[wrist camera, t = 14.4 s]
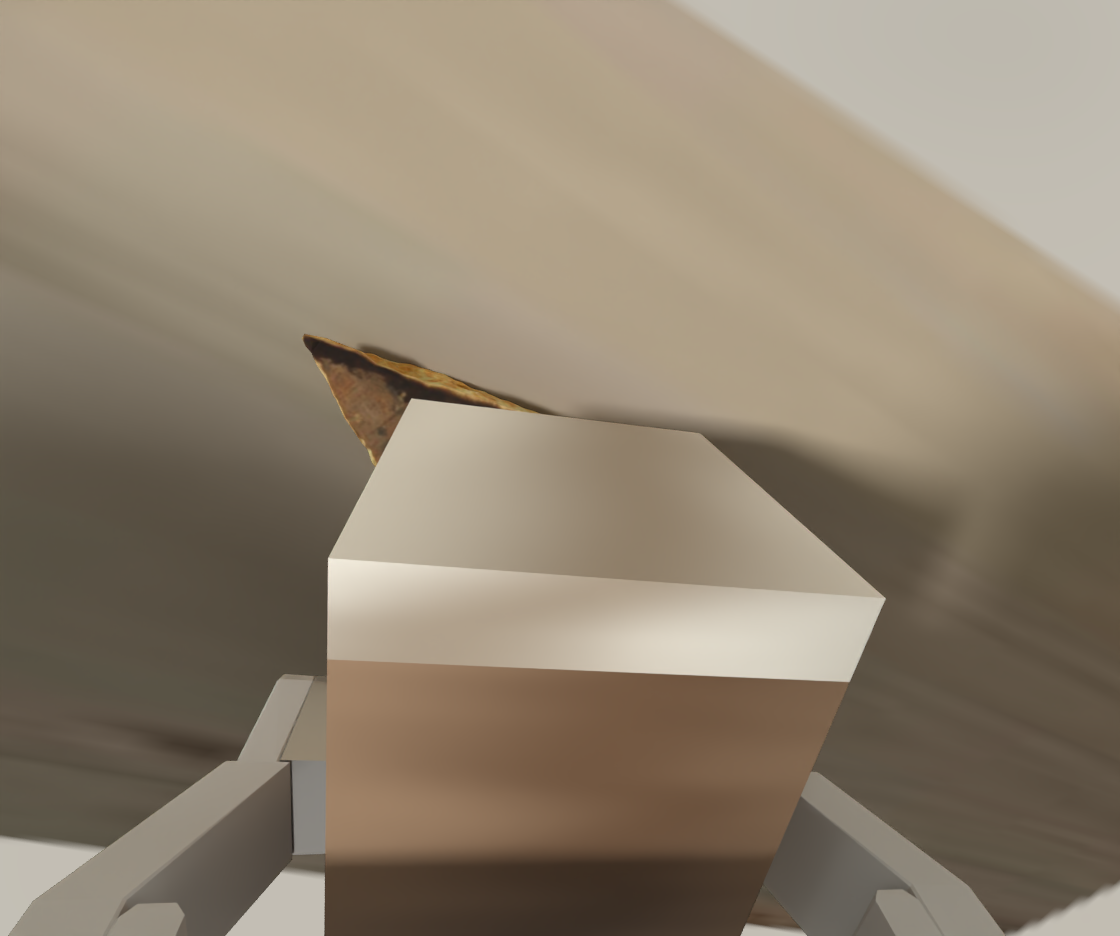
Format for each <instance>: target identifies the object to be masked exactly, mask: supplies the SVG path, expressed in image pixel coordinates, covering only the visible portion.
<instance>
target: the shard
mask: <svg viewBox="0 0 1120 936" xmlns="http://www.w3.org/2000/svg"><path fill="white" fill-rule="evenodd" d="M302 339H303V341H304V343H305V346H306V347H307V348H308V349H309V350H310V351H311V353H312V355H313V357H314V360H315V362H316V364H317V366H318V368H319V370H320V371H321V372H322V374H323V375H324V377H325V378H326V380H327V382H328V384H329V386H330V389H331V391H332V394H333V396H334V397H335V398H336V401H337V403H338V405H339V407H340V409H341V412H342V414H343V416H344V418H345V419H346V420H347V422H348V423H349V425H350V427H351V428H352V429H353V431H354V432H355V434H356V435H357V437H358V438H359V440H360V441H361V442H362V444H363V445H364V446H365V447H366V448H367V450H368V452H369V455H370V458H371V461H372V463H373V465H374V466H375V467H376V465H377V463H378V462H379V460H380V458H381V456H382V454H383V452H384V450H385V448H386V446H387V444H388V442H389V440H390V439H391V437H392V435H393V433H394V431H395V429H396V427H397V425H398V423H399V421H400V419H401V417H402V416H403V414H404V412H405V410H406V408H407V406H408V404H409V402H410V400H411V398H412V399H420V400H428V401H437V402H445V403H453V404H462V405H470V406H478V407H487V408H495V409H503V410H511V411H520V412H528V413H536V414H540V413H537V412H535V411H532V410H528V409H525V408H522V407H520V406H519V405H517V404H513V403H511V402H510V401H506V400H501V399H499V398H497V397H495V396H492V395H490V394H488V393H486V392H484V391H480V390H476V389H473V388H470V387H468V386H467V385H465V384H464V383H462V382H460V381H456V380H454V379H452V378H450V377H448V376H447V375H445V374H442V373H437V372H433V371H431V370H428V369H425V368H420V367H418V366H415V365H412V364H405V363H396V362H393V361H389V360H386V359H384V358H381V357H379V356H377V355H375V354H372V353H363V352H362V351H360V350H357V349H354V348H351V347H348V346H345V345H343V344H340V343H337V342H335V341H332V340H329V339H327V338H322V337H317V336H312V335H307V334H304V336H303V338H302Z"/></svg>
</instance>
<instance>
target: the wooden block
mask: <svg viewBox="0 0 1120 936" xmlns="http://www.w3.org/2000/svg"><path fill="white" fill-rule="evenodd" d="M885 599H886V598H885V597H884V596H882V595H881V594H880V593H879V592H878V591H877V590H876V589H875V588H873V587H872V586H871V585H870V584H869V583H868V582H867V581H866V580H864V579H863V578H862V577H861V576H860V575H859V574H858V573H857V572H855V571H854V570H853V569H852V568H851V567H850V566H849V565H848V564H846V563H845V562H844V561H843V560H842V559H841V558H840V557H839V556H837V555H836V554H835V553H834V552H833V551H832V550H831V549H830V548H828V547H827V546H826V545H825V544H824V543H823V542H822V541H821V540H819V539H818V538H817V537H816V536H815V535H814V534H813V533H812V532H810V531H809V530H808V529H807V528H806V527H805V526H804V525H803V524H801V523H800V522H799V521H798V520H797V519H796V518H795V517H794V516H792V515H791V514H790V513H789V512H788V511H787V510H786V509H785V508H783V507H782V506H781V505H780V504H779V503H778V502H777V501H776V500H774V499H773V498H772V497H771V496H770V495H769V494H768V493H767V492H765V491H764V490H763V489H762V488H761V487H760V486H759V485H758V484H757V483H755V482H754V481H753V480H752V479H751V478H750V477H749V476H748V475H746V474H745V473H744V472H743V471H742V470H741V469H740V468H739V467H737V466H736V465H735V464H734V463H733V462H732V461H731V460H730V459H728V458H727V457H726V456H725V455H724V454H723V453H722V452H721V451H719V450H718V449H717V448H716V447H715V446H714V445H713V444H712V443H710V442H709V441H708V440H707V439H706V438H705V437H704V436H703V435H701V434H700V433H694V432H686V431H678V430H669V429H661V428H653V427H644V426H636V425H628V424H620V423H611V422H603V421H595V420H586V419H578V418H570V417H561V416H553V415H545V414H536V413H528V412H520V411H511V410H503V409H495V408H487V407H478V406H470V405H462V404H453V403H445V402H437V401H428V400H420V399H412V398H411V400H410V402H409V404H408V406H407V408H406V410H405V412H404V414H403V416H402V417H401V419H400V421H399V423H398V425H397V427H396V429H395V431H394V433H393V435H392V437H391V439H390V440H389V442H388V444H387V446H386V448H385V450H384V452H383V454H382V456H381V458H380V460H379V462H378V463H377V465H376V467H375V469H374V471H373V473H372V475H371V477H370V479H369V481H368V483H367V485H366V486H365V488H364V490H363V492H362V494H361V496H360V498H359V500H358V502H357V504H356V506H355V508H354V509H353V511H352V513H351V515H350V517H349V519H348V521H347V523H346V525H345V527H344V529H343V531H342V533H341V534H340V536H339V538H338V540H337V542H336V544H335V546H334V548H333V550H332V552H331V554H330V556H329V557H328V621H327V726H326V831H325V935H324V936H740V935H741V933H742V931H743V928H744V926H745V924H746V922H747V919H748V917H749V915H750V912H751V910H752V908H753V905H754V903H755V901H756V898H757V896H758V894H759V891H760V889H761V887H762V884H763V882H764V880H765V877H766V875H767V873H768V870H769V868H770V866H771V863H772V861H773V859H774V857H775V854H776V852H777V850H778V847H779V845H780V843H781V840H782V838H783V836H784V833H785V831H786V829H787V826H788V824H789V822H790V819H791V817H792V815H793V812H794V810H795V808H796V805H797V803H798V801H799V799H800V796H801V794H802V792H803V789H804V787H805V785H806V782H807V780H808V778H809V775H810V773H811V771H812V768H813V766H814V764H815V761H816V759H817V757H818V754H819V752H820V750H821V747H822V745H823V743H824V740H825V738H826V736H827V734H828V731H829V729H830V727H831V724H832V722H833V720H834V717H835V715H836V713H837V710H838V708H839V706H840V703H841V701H842V699H843V696H844V694H845V692H846V689H847V687H848V685H849V682H850V680H851V678H852V675H853V673H854V671H855V669H856V666H857V664H858V662H859V659H860V657H861V655H862V652H863V650H864V648H865V645H866V643H867V641H868V638H869V636H870V634H871V631H872V629H873V627H874V624H875V622H876V620H877V617H878V615H879V613H880V611H881V608H882V606H883V604H884V601H885Z"/></svg>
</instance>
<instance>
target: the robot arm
mask: <svg viewBox="0 0 1120 936" xmlns="http://www.w3.org/2000/svg"><path fill="white" fill-rule="evenodd" d="M326 726H327V676H306V675H292V674H284V675H283V676H282V677H281V678H280V679H279V680H278V681H277V682H276V684H275V686H274V688H273V690H272V692H271V694H270V696H269V698H268V700H267V702H266V704H265V706H264V708H263V710H262V712H261V714H260V716H259V718H258V720H257V722H256V724H255V726H254V728H253V730H252V732H251V734H250V736H249V738H248V740H247V742H246V744H245V746H244V748H243V750H242V752H241V754H240V756H239V757H238V759H237V761H225V762H224V763H222V764H221V765H220V766H218V767H217V768H215V769H214V770H213V771H211V772H210V773H209V774H207V775H206V776H204V777H203V778H202V779H200V780H199V781H198V782H196V783H195V784H193V785H192V786H191V787H189V788H188V789H187V790H185V791H184V792H182V793H181V794H180V795H178V796H177V797H176V798H174V799H173V800H171V801H170V802H169V803H167V804H166V805H165V806H163V807H162V808H160V809H159V810H158V811H156V812H155V813H153V814H152V815H151V816H149V817H148V818H147V819H145V820H144V821H142V822H141V823H140V824H138V825H137V826H136V827H134V828H133V829H131V830H130V831H129V832H127V833H126V834H125V835H123V836H122V837H120V838H119V839H118V840H116V841H115V842H114V843H112V844H111V845H109V846H108V847H107V848H105V849H104V850H103V851H101V852H100V853H98V854H97V855H96V856H94V857H93V858H92V859H90V860H89V861H87V862H86V863H85V864H83V865H82V866H81V867H79V868H78V869H76V870H75V871H74V872H72V873H71V874H70V875H68V876H67V877H66V878H64V879H63V880H61V881H60V882H59V883H57V884H56V885H54V886H53V887H52V888H50V889H49V890H48V891H46V892H45V893H44V894H42V895H41V896H39V897H38V898H37V899H35V900H34V901H33V902H32V903H31V905H30V906H29V907H28V909H27V910H26V912H25V913H24V914H23V916H22V917H21V919H20V920H19V921H18V923H17V924H16V926H15V927H14V928H13V930H12V931H11V933H10V934H9V935H8V936H225V935H226V934H227V933H228V932H229V931H230V930H231V928H232V927H233V926H234V925H235V924H236V923H237V921H238V920H239V919H240V918H241V917H242V916H243V915H244V913H245V912H246V911H247V910H248V909H249V908H250V907H251V906H252V904H253V903H254V902H255V901H256V900H257V899H258V897H259V896H260V895H261V894H262V893H263V892H264V891H265V890H266V888H267V887H268V886H269V885H270V884H271V883H272V882H273V880H274V879H275V878H276V877H277V876H278V875H279V874H280V872H281V871H282V870H283V869H284V868H285V867H286V866H287V864H288V863H289V862H290V861H291V860H292V855H305V854H325V831H326ZM763 885H764V886H765V887H766V888H767V889H768V890H769V892H770V893H771V894H772V895H773V896H774V897H775V899H776V900H777V901H778V902H779V903H780V904H781V906H782V907H783V908H784V909H785V910H786V911H787V912H788V914H789V915H790V916H791V917H792V918H793V919H794V921H795V922H796V923H797V924H798V925H799V926H800V928H801V929H802V930H803V931H804V932H805V933H806V935H807V936H1005V934H1004V933H1003V932H1002V930H1001V929H1000V927H999V926H998V925H997V923H996V922H995V921H994V919H993V918H992V917H991V915H990V914H989V913H988V911H987V910H986V909H985V907H984V906H983V904H982V903H981V902H980V900H979V899H978V898H977V896H976V895H975V894H974V892H973V891H972V890H971V888H970V887H969V886H968V885H967V884H965V883H964V882H963V881H961V880H960V879H959V878H957V877H956V876H955V875H954V874H952V873H951V872H950V871H948V870H947V869H946V868H944V867H943V866H942V865H940V864H939V863H938V862H936V861H935V860H934V859H932V858H931V857H930V856H928V855H927V854H926V853H924V852H923V851H922V850H920V849H919V848H918V847H916V846H915V845H914V844H912V843H911V842H910V841H909V840H907V839H906V838H905V837H903V836H902V835H901V834H899V833H898V832H897V831H895V830H894V829H893V828H891V827H890V826H889V825H887V824H886V823H885V822H883V821H882V820H881V819H879V818H878V817H877V816H875V815H874V814H873V813H871V812H870V811H869V810H868V809H866V808H865V807H864V806H862V805H861V804H860V803H858V802H857V801H856V800H854V799H853V798H852V797H850V796H849V795H848V794H846V793H845V792H844V791H842V790H841V789H840V788H838V787H837V786H836V785H834V784H833V783H832V782H830V781H829V780H828V779H826V778H825V777H824V776H823V775H821V774H820V773H819V772H811V773H810V775H809V778H808V780H807V782H806V785H805V787H804V789H803V792H802V794H801V796H800V799H799V801H798V803H797V805H796V808H795V810H794V812H793V815H792V817H791V819H790V822H789V824H788V826H787V829H786V831H785V833H784V836H783V838H782V840H781V843H780V845H779V847H778V850H777V852H776V854H775V857H774V859H773V861H772V863H771V866H770V868H769V870H768V873H767V875H766V877H765V880H764V882H763Z"/></svg>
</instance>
